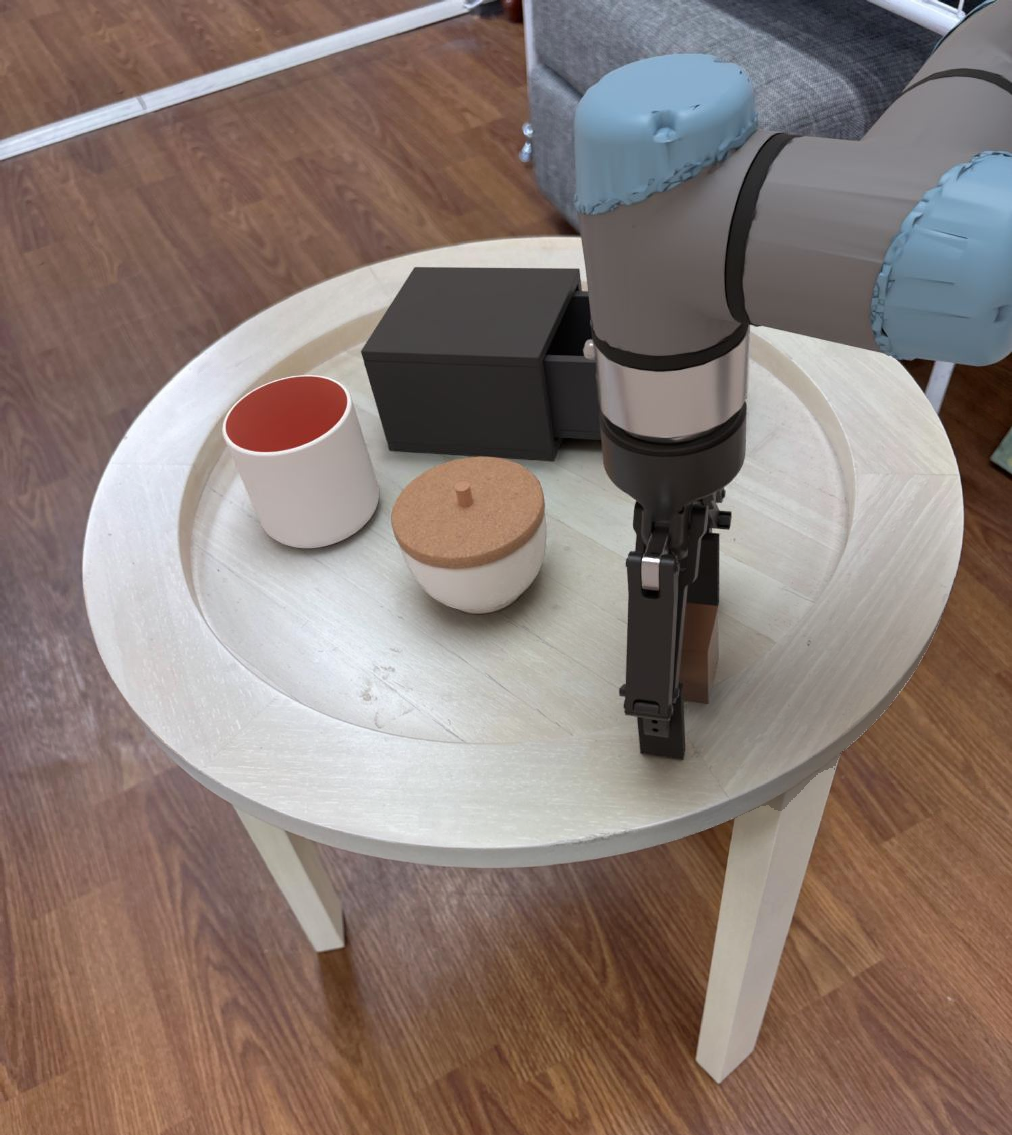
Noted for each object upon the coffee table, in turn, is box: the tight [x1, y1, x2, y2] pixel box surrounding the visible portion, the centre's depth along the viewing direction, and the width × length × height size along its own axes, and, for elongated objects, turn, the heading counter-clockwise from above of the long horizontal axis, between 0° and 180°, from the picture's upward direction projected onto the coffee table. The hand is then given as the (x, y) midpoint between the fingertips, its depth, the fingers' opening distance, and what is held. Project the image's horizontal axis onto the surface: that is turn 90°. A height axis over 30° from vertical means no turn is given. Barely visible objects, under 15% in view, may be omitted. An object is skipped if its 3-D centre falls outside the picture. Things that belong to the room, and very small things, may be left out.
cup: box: [221, 374, 380, 549], centre depth 84 cm, size 10×10×10 cm
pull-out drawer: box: [543, 290, 601, 441], centre depth 86 cm, size 18×12×8 cm, turn 73°
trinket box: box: [390, 456, 548, 615], centre depth 76 cm, size 11×11×9 cm
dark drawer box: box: [360, 266, 583, 462], centre depth 90 cm, size 15×13×10 cm
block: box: [679, 603, 720, 704], centre depth 69 cm, size 4×4×5 cm
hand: (681, 674), depth 70 cm, fingers open, 12 cm apart
